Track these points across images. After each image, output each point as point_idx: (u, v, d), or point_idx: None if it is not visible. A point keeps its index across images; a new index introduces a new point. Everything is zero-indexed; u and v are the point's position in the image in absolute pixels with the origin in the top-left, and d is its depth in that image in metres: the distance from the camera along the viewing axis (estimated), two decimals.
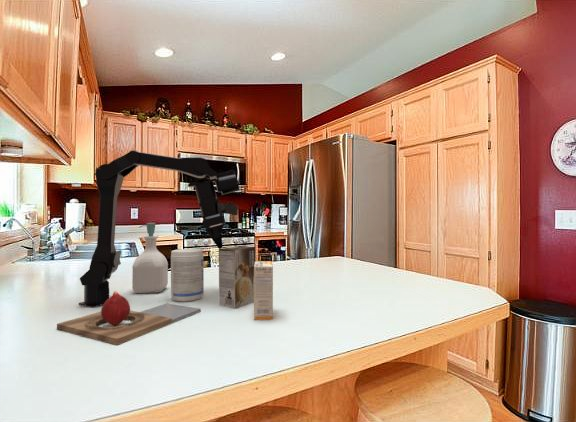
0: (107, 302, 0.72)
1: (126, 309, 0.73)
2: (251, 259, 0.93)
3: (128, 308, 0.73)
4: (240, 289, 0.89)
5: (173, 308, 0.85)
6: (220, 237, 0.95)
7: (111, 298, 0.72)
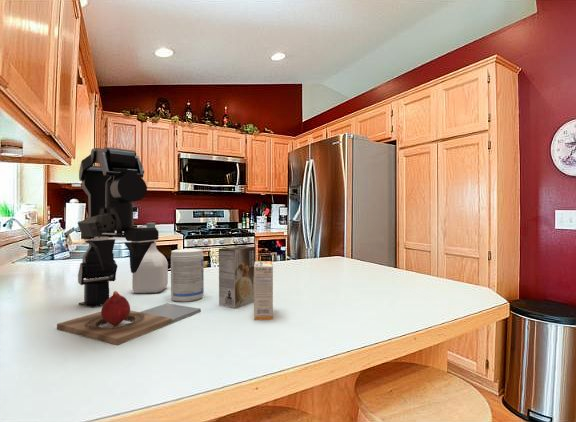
0: (107, 302, 0.72)
1: (126, 309, 0.73)
2: (251, 259, 0.93)
3: (128, 308, 0.73)
4: (240, 289, 0.89)
5: (173, 308, 0.85)
6: None
7: (111, 298, 0.72)
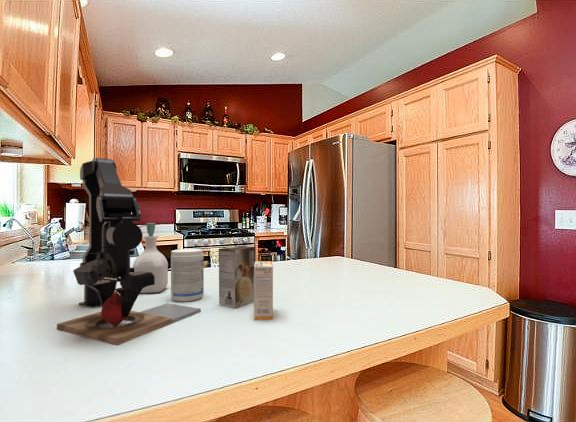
0: (107, 302, 0.72)
1: None
2: (251, 259, 0.93)
3: None
4: (240, 289, 0.89)
5: (173, 308, 0.85)
6: None
7: (111, 298, 0.72)
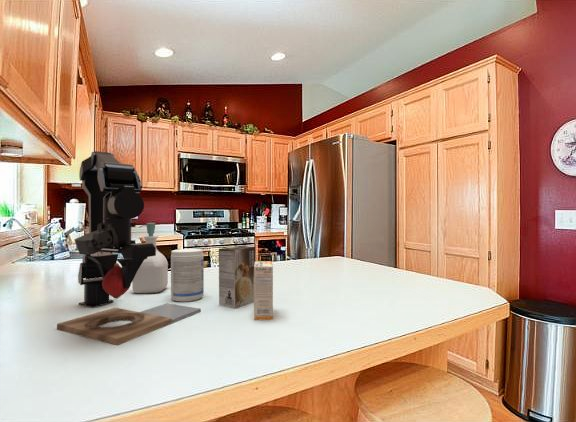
0: (108, 273, 0.71)
1: None
2: (251, 259, 0.93)
3: None
4: (240, 289, 0.89)
5: (173, 308, 0.85)
6: None
7: (112, 270, 0.72)
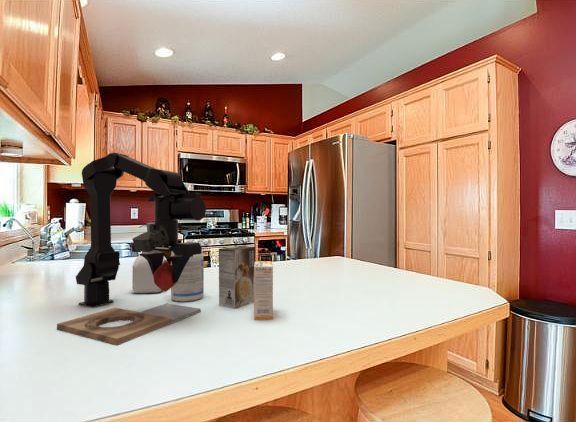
0: (159, 269, 0.80)
1: None
2: (251, 259, 0.93)
3: None
4: (240, 289, 0.89)
5: (173, 308, 0.85)
6: None
7: (162, 266, 0.80)
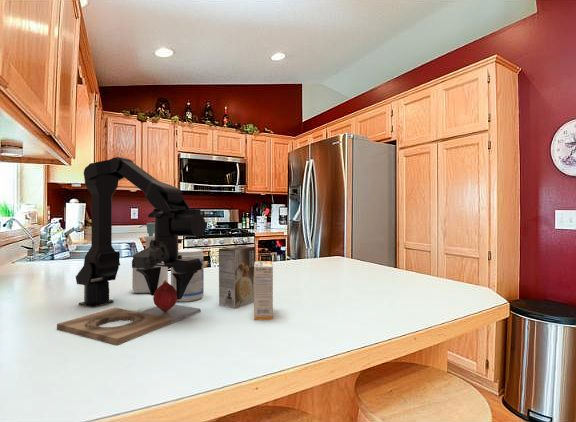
0: (159, 290, 0.80)
1: (175, 296, 0.81)
2: (251, 259, 0.93)
3: (176, 295, 0.82)
4: (240, 289, 0.89)
5: (173, 308, 0.85)
6: None
7: (162, 286, 0.80)
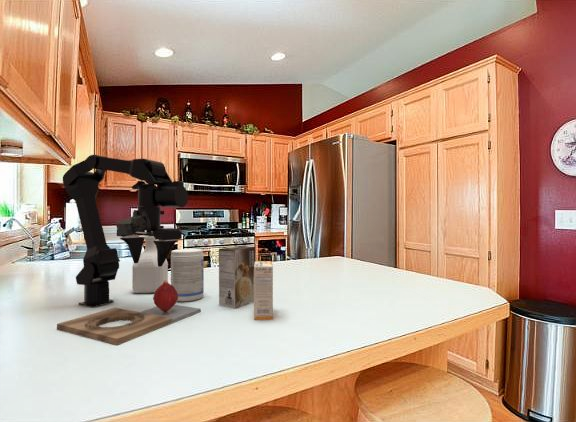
0: (159, 290, 0.80)
1: (175, 296, 0.81)
2: (251, 259, 0.93)
3: (177, 295, 0.82)
4: (240, 289, 0.89)
5: (173, 308, 0.85)
6: None
7: (162, 286, 0.80)
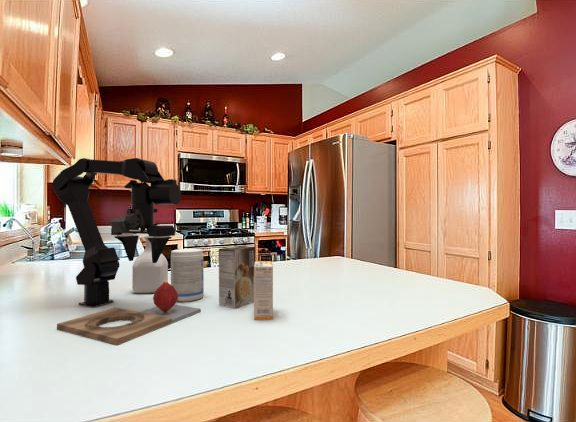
0: (159, 290, 0.80)
1: (175, 296, 0.81)
2: (251, 259, 0.93)
3: (176, 295, 0.82)
4: (240, 289, 0.89)
5: (173, 308, 0.85)
6: None
7: (162, 286, 0.80)
